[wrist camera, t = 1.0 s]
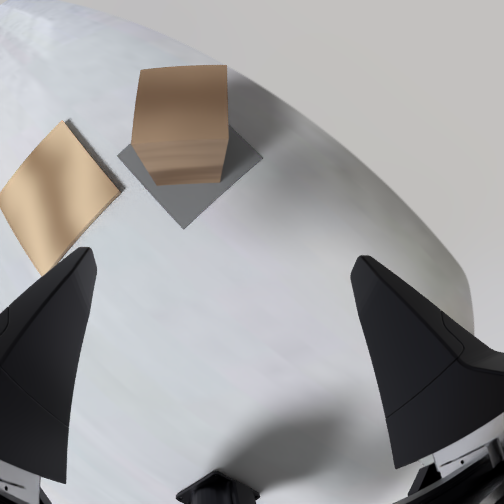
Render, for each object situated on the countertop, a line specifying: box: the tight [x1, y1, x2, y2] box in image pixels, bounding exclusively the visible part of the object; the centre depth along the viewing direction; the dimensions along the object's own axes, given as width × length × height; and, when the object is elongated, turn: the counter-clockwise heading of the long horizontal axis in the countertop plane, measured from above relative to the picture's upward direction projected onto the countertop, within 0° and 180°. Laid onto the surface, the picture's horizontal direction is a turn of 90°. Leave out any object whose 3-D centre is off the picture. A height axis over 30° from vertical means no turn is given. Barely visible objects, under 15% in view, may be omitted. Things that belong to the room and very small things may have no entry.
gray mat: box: [117, 125, 263, 229], centre depth 22 cm, size 9×9×1 cm
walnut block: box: [131, 65, 229, 186], centre depth 17 cm, size 5×5×8 cm
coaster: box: [0, 120, 121, 276], centre depth 19 cm, size 10×10×1 cm
